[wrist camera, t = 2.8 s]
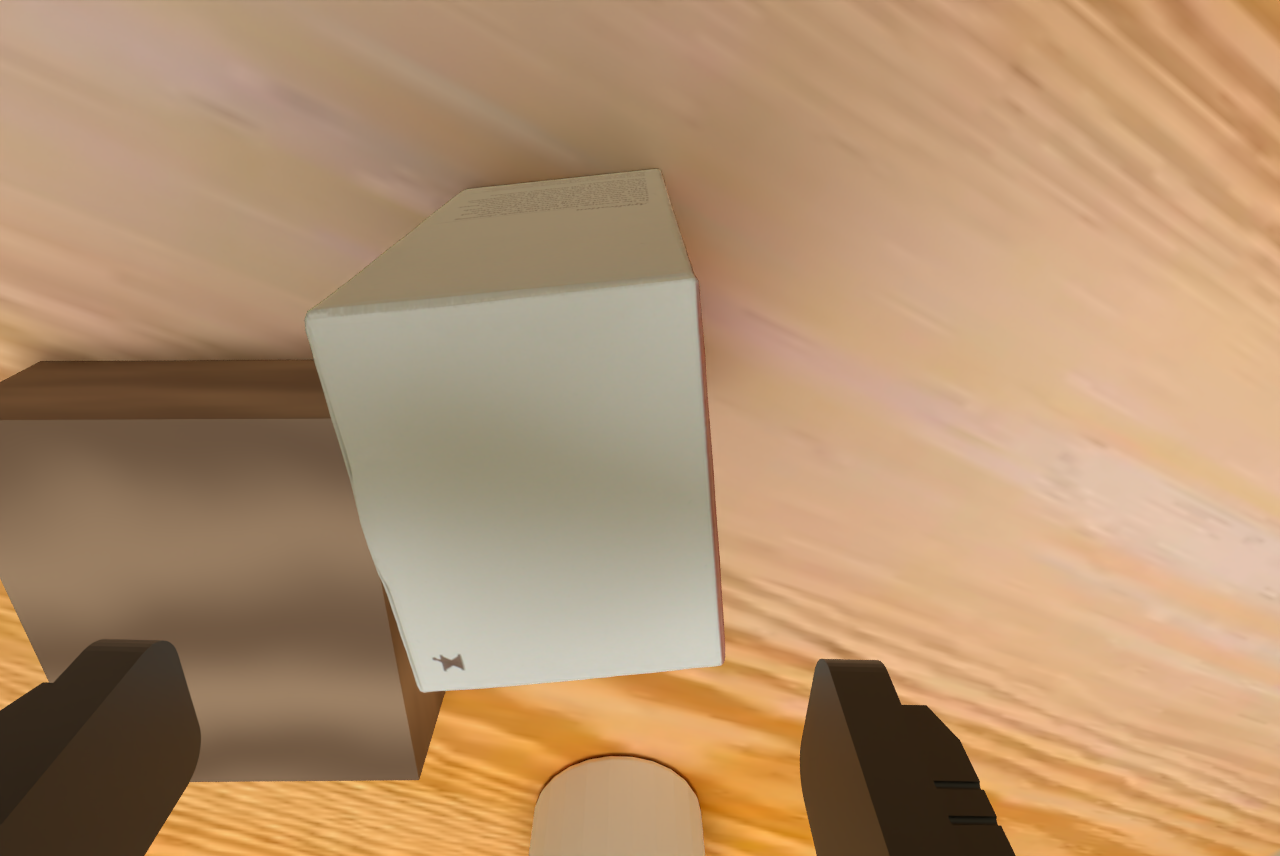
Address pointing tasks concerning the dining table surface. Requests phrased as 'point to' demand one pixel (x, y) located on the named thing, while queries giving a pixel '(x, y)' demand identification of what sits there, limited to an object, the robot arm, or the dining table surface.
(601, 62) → the dining table surface
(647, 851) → the mug
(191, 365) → the walnut block
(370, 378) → the small box
